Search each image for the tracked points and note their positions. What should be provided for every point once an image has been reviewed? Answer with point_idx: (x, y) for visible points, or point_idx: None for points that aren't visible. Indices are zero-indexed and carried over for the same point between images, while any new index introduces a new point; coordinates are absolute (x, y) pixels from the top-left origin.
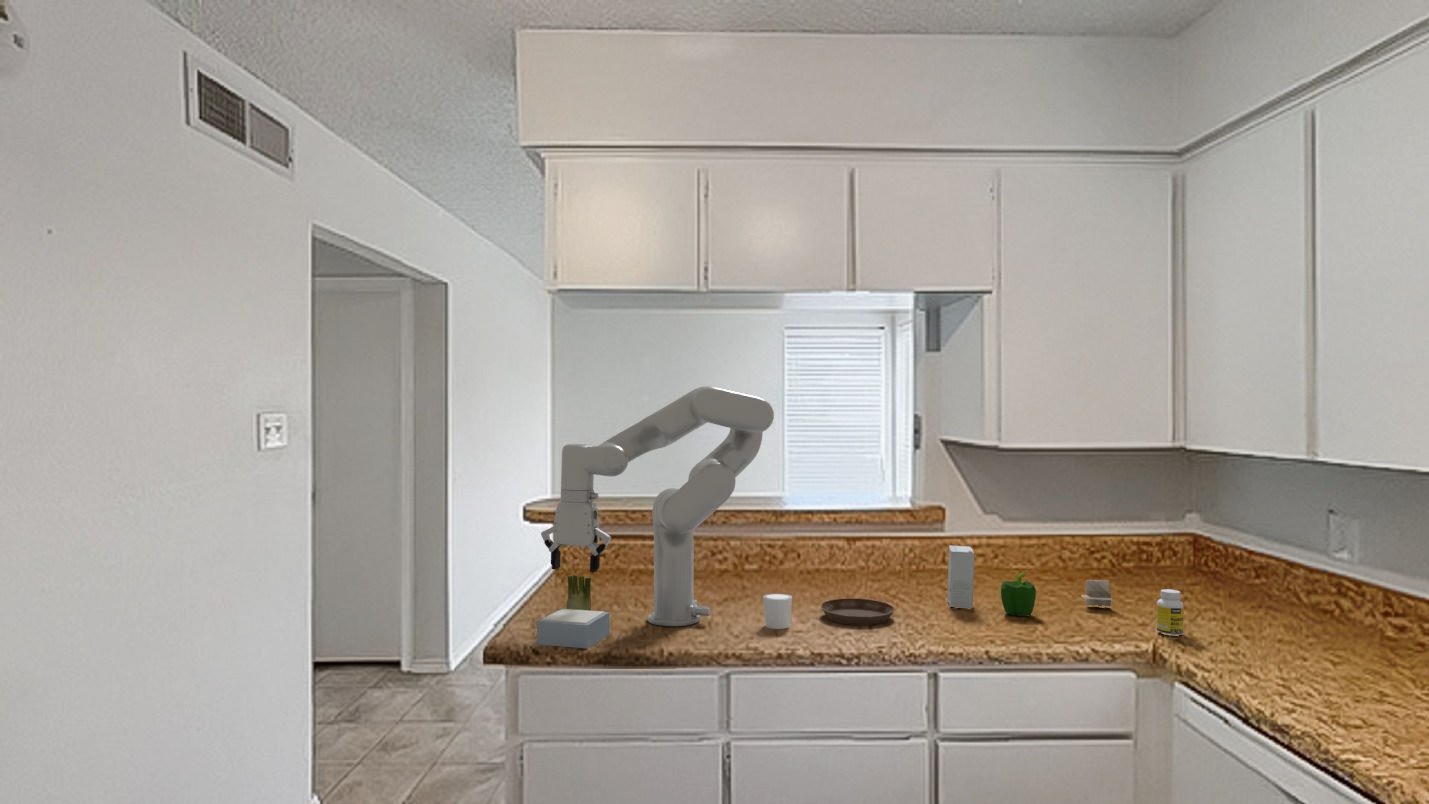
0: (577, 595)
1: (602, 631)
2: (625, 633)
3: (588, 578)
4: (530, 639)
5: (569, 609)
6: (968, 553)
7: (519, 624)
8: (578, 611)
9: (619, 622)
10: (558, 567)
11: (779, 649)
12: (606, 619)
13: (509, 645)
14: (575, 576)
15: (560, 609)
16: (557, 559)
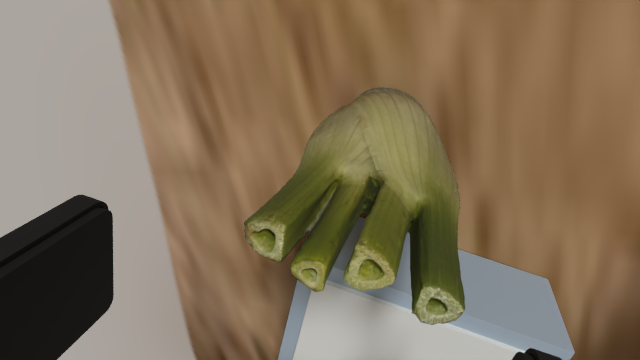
0: (365, 213)
1: None
2: (630, 269)
3: (443, 318)
4: (255, 297)
5: (352, 299)
6: None
7: (144, 100)
8: (403, 339)
9: (623, 57)
10: (110, 240)
11: None
12: None
13: (218, 343)
14: (318, 288)
15: None
16: (40, 325)
